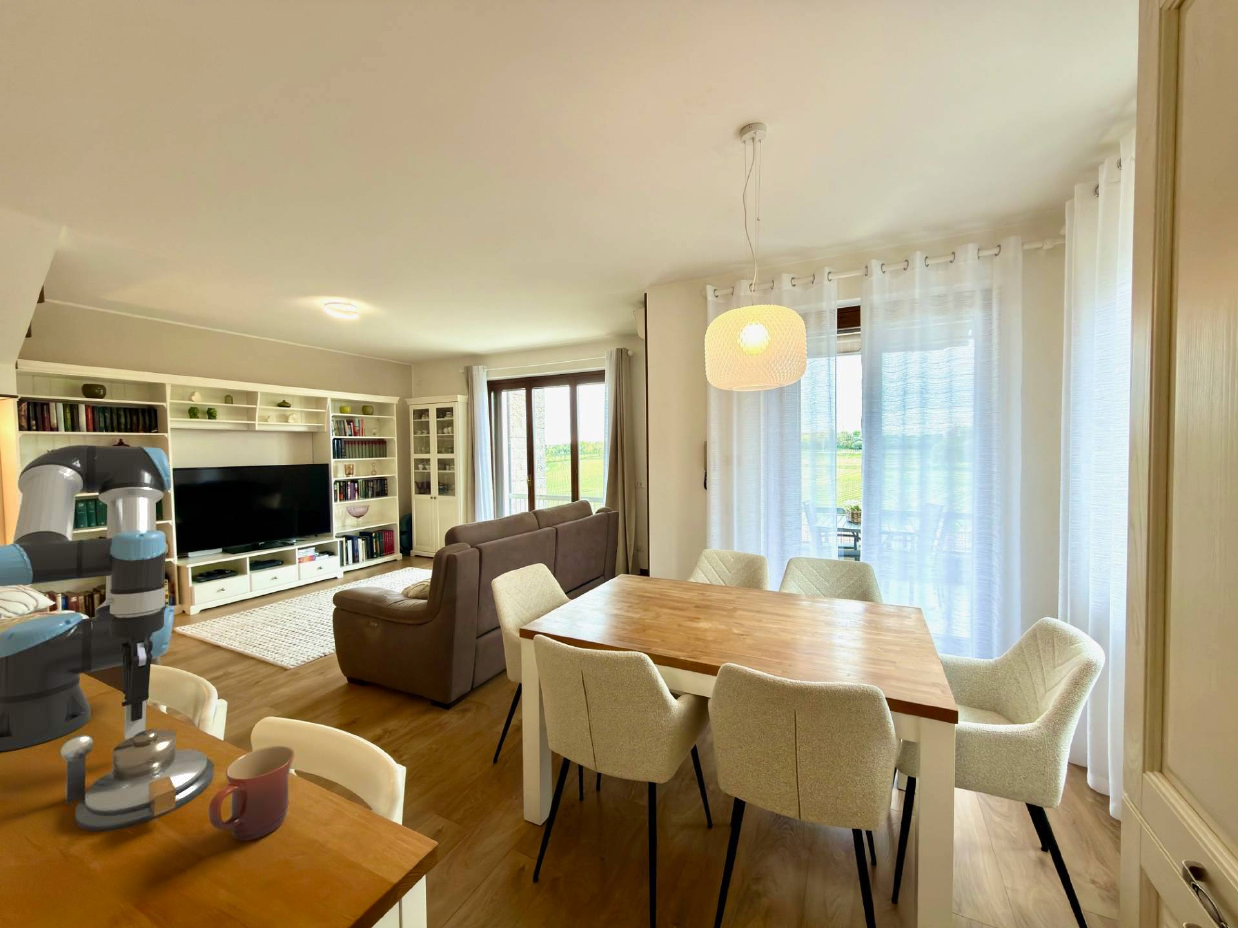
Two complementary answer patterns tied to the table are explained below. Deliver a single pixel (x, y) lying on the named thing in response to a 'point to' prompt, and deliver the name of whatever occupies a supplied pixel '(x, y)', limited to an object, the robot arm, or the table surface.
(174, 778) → the turntable
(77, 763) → the dial stand
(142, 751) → the cover
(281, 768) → the mug
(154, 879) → the table surface
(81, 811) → the turntable base
